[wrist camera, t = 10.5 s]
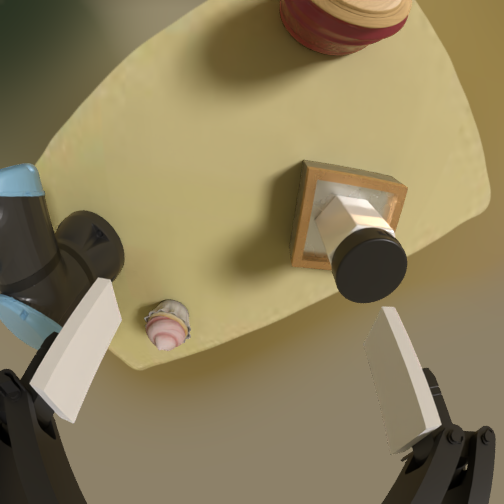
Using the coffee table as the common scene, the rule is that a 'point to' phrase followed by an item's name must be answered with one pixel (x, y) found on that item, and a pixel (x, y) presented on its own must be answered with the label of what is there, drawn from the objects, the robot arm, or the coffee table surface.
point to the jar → (361, 250)
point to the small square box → (323, 192)
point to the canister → (342, 22)
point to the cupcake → (168, 325)
